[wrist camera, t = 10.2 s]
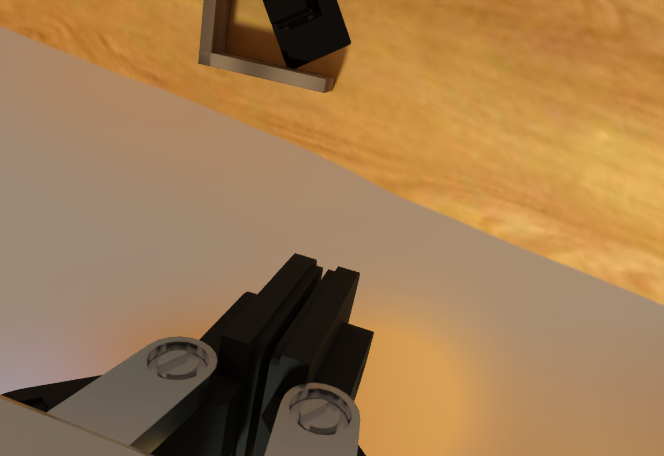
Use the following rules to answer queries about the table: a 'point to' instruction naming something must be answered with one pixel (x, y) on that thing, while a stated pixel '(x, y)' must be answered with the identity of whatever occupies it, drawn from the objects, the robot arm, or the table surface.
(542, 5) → the table surface
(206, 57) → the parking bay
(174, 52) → the table surface
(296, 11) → the build plate
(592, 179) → the table surface
